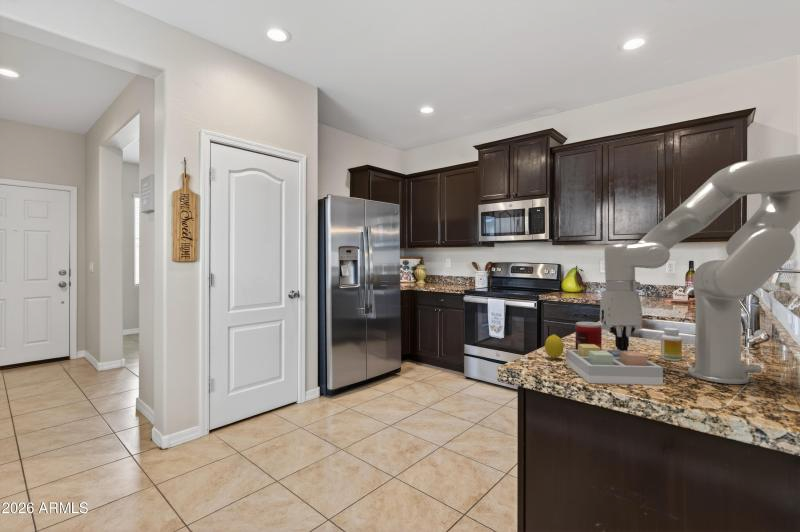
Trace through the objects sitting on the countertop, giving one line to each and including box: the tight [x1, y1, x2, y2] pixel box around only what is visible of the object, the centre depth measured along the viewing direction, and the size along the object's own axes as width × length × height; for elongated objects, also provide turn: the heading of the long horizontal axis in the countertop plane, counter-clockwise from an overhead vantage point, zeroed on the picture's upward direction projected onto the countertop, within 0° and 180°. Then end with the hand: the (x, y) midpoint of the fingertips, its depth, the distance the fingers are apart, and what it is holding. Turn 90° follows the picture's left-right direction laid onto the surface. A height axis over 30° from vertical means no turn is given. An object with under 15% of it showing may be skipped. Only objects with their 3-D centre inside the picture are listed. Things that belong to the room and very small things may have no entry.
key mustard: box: [578, 344, 600, 357], centre depth 112 cm, size 5×5×3 cm
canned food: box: [575, 321, 603, 350], centre depth 126 cm, size 8×8×11 cm
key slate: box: [607, 349, 625, 357], centre depth 111 cm, size 5×5×3 cm
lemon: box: [544, 333, 564, 360], centre depth 123 cm, size 6×6×8 cm
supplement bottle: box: [660, 327, 683, 362], centre depth 122 cm, size 5×5×10 cm
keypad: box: [566, 349, 664, 386], centre depth 107 cm, size 18×18×4 cm
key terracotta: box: [621, 350, 648, 366], centre depth 103 cm, size 5×5×3 cm
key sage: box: [589, 351, 613, 365], centre depth 103 cm, size 5×5×3 cm
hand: (622, 349), depth 111 cm, fingers closed
